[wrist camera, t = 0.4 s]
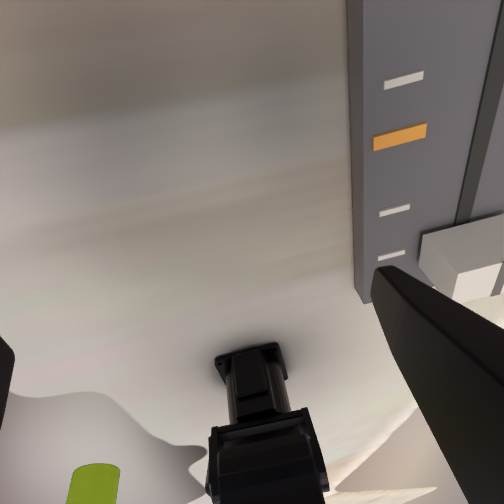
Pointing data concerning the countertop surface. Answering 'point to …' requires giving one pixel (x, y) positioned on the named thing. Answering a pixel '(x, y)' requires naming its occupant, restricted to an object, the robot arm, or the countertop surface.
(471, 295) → the fader
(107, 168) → the countertop surface
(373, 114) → the gray slotted panel
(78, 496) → the soap dispenser
